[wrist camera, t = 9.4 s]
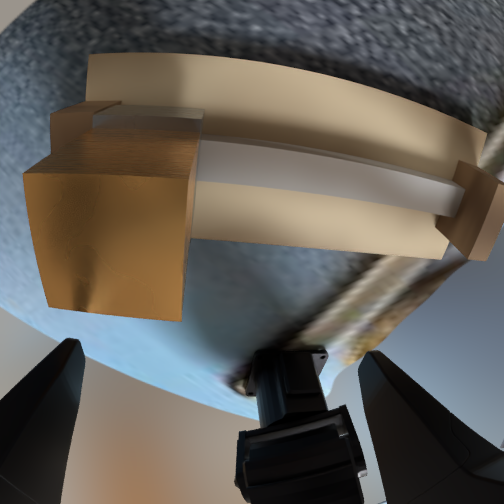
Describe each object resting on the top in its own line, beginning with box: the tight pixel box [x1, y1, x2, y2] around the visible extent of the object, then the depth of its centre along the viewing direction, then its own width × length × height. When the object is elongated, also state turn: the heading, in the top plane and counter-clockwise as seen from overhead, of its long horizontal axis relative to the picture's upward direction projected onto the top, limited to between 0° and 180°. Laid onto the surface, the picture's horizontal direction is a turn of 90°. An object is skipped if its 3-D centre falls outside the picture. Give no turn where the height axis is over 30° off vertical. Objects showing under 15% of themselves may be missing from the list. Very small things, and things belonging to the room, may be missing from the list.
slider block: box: [23, 105, 205, 322], centre depth 11 cm, size 5×4×8 cm
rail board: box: [50, 53, 504, 261], centre depth 16 cm, size 10×24×6 cm, turn 81°
